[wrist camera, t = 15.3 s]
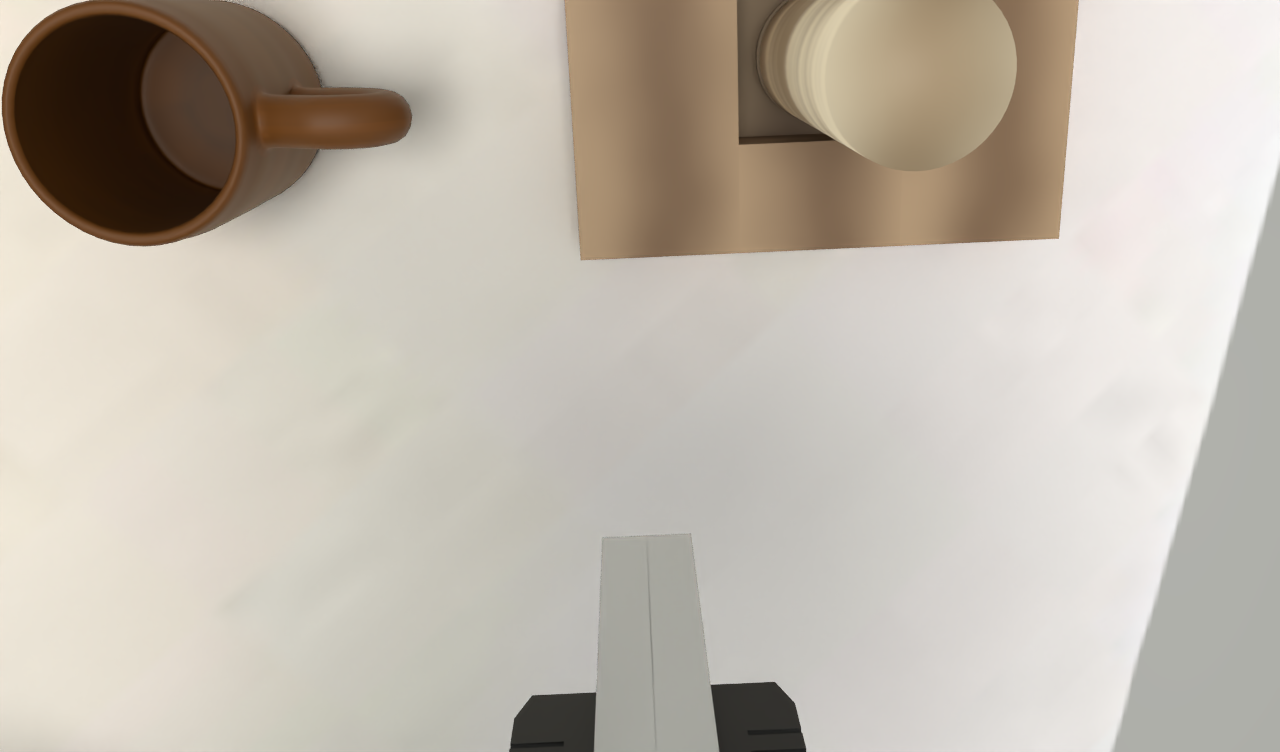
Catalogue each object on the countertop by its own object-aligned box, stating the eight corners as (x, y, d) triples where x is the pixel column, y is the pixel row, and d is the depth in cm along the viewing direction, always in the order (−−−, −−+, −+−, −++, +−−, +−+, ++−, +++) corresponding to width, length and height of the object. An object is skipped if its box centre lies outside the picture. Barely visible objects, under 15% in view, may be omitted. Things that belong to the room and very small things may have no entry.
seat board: (583, 244, 43) (580, 260, 40) (560, -139, 39) (555, -151, 36) (1030, 223, 43) (1058, 238, 40) (1058, -162, 39) (1093, -176, 36)
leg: (749, 118, 41) (822, 177, 26) (747, -9, 40) (825, -25, 24) (868, 112, 41) (1012, 169, 26) (871, -15, 40) (1026, -34, 24)
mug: (438, -4, 40) (384, -9, 31) (451, 200, 42) (405, 248, 33) (115, -1, 40) (-31, -5, 31) (147, 203, 42) (20, 253, 33)
